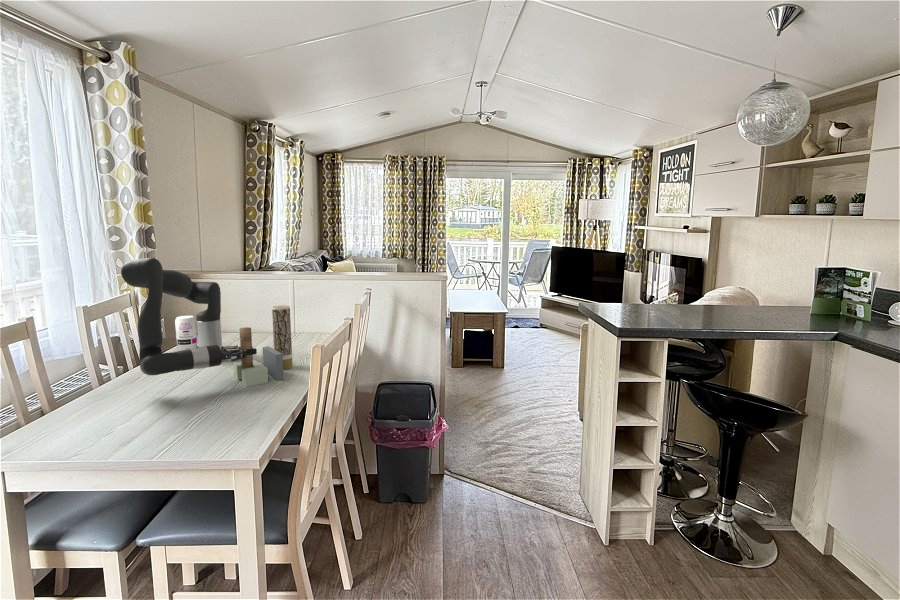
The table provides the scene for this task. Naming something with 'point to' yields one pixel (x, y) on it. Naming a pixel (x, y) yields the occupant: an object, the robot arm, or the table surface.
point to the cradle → (251, 374)
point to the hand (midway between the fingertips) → (254, 349)
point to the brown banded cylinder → (246, 346)
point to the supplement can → (186, 332)
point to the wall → (273, 363)
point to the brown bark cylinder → (282, 333)
